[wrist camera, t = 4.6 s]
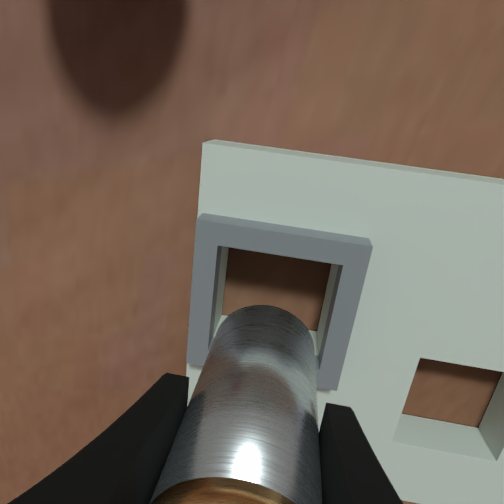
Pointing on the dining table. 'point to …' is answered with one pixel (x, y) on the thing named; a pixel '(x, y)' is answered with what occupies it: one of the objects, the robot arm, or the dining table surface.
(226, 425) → the silver and gold cylinder
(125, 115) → the dining table surface
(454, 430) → the board
